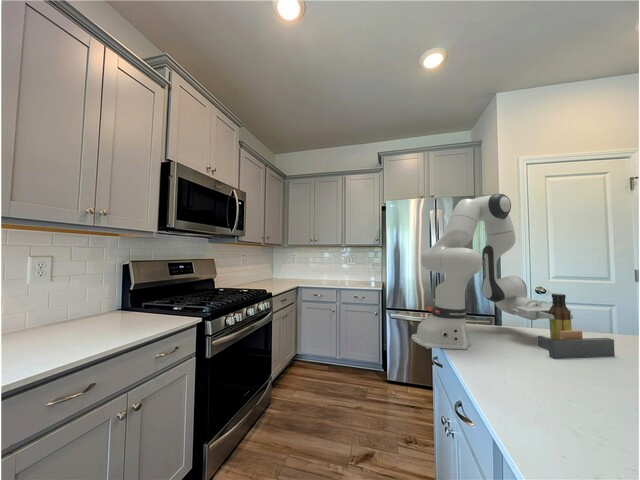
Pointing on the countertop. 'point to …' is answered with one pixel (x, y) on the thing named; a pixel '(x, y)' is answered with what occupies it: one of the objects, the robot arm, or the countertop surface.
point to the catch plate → (571, 334)
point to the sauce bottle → (559, 316)
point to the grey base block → (577, 347)
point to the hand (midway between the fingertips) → (562, 317)
